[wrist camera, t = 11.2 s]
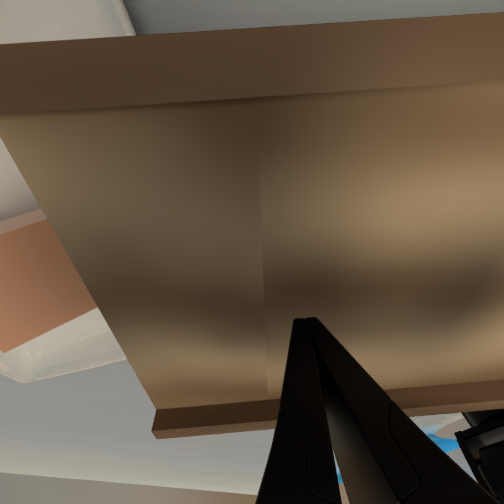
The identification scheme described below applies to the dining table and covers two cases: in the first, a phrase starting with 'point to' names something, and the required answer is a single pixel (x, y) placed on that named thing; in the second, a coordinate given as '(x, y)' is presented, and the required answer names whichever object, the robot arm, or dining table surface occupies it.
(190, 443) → the dining table surface
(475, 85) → the tan wooden box
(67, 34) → the salad plate
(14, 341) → the tile
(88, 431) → the dining table surface
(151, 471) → the dining table surface
